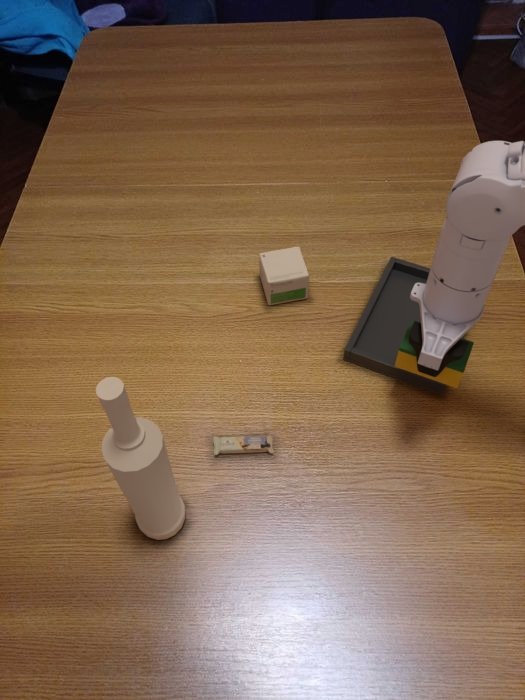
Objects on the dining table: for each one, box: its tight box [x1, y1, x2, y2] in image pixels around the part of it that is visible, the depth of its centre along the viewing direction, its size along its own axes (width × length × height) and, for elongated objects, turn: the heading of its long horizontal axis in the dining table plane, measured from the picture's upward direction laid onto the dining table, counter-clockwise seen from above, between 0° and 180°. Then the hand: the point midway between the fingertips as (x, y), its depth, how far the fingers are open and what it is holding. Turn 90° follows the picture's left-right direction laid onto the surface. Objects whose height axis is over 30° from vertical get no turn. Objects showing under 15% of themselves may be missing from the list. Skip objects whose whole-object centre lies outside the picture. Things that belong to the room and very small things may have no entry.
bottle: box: [95, 376, 186, 541], centre depth 55 cm, size 5×5×25 cm
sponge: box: [395, 322, 475, 389], centre depth 67 cm, size 7×4×4 cm, turn 65°
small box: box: [258, 245, 310, 306], centre depth 82 cm, size 6×6×5 cm
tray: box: [342, 256, 465, 396], centre depth 79 cm, size 13×18×2 cm
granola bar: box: [212, 434, 274, 456], centre depth 69 cm, size 7×2×1 cm, turn 91°
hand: (433, 356), depth 67 cm, fingers closed on sponge, 4 cm apart
